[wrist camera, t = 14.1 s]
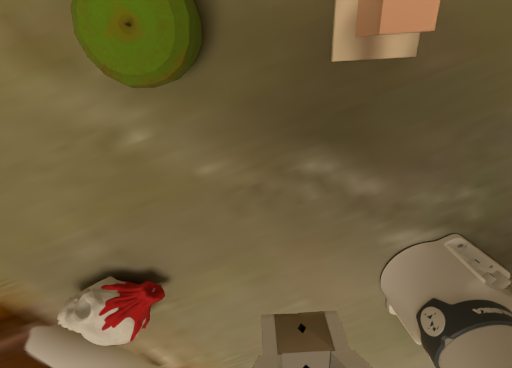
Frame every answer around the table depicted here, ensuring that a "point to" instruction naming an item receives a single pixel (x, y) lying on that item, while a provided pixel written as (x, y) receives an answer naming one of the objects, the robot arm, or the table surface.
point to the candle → (110, 310)
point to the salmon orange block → (395, 17)
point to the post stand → (365, 38)
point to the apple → (139, 38)
